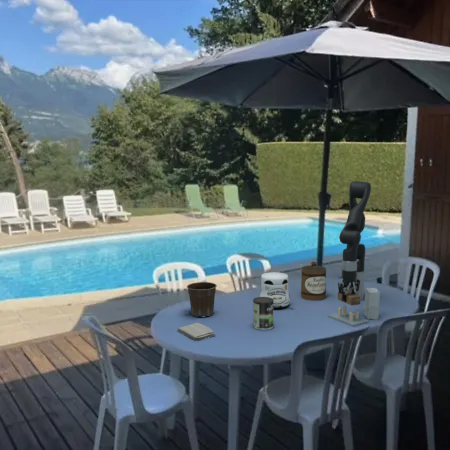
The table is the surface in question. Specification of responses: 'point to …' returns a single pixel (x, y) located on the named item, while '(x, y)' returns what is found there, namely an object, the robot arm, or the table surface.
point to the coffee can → (263, 313)
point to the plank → (350, 298)
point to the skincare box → (372, 303)
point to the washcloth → (196, 331)
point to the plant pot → (202, 298)
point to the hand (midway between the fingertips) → (348, 300)
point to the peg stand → (348, 317)
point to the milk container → (275, 288)
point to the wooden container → (313, 282)
